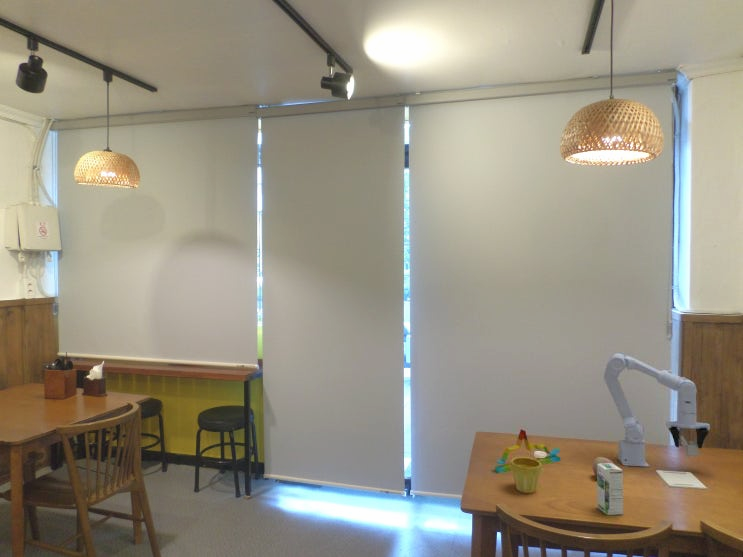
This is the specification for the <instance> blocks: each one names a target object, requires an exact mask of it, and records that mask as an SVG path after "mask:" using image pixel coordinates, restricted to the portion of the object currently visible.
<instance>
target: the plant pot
mask: <svg viewBox="0 0 743 557" xmlns="http://www.w3.org/2000/svg"><path fill="white" fill-rule="evenodd" d="M510 463H511V471H510V472H511V473H513V479H514V483H515V488H516V490H517V491H519V492H520V493H524V494H525V493H526V494H532V493H535V492H536V490H537V484H538V481H539V477H540V475H541V473H542V465H541V463H540V462H539V461H537V460H535V458H531V457H528V456H527V457H526V456H518V457H514V458H512V459H511V460H510Z"/></svg>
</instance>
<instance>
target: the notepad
mask: <svg viewBox="0 0 743 557" xmlns="http://www.w3.org/2000/svg"><path fill="white" fill-rule="evenodd" d="M655 473H657V475H658V476H659V477H660V478H661V479H662V481H663V482H664V483H665V484H666V485H667V486H668V487H669V488H681V489H683V488H684V489H685V488H686V489H695V490H697V489H698V490H708V487H707V486H705V484H703V483H702V482H701V481H700V480H699V479H698V478H697V477H696V475H695V474H693V472H690V471H675V470H660V469H659V470H658V469H657V470H655Z"/></svg>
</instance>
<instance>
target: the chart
mask: <svg viewBox="0 0 743 557" xmlns="http://www.w3.org/2000/svg"><path fill="white" fill-rule="evenodd" d="M522 443H524V446H525V449H526V450H527V451H532V450H533V449H534V448H535V449H536V450H539V451H542V450H544V451H545V453H546V454H548V455H547V456H546V457H545V456H544V457H545V458H540V457H536V458H534V459H535V460H537V461H539V462H540V463H541V466H543V465H546V464H550V463H556V462H560V461H561V456H559V455H558V453H560V451H561V449H559V448H557V447H555V448H554V449H553V450H552V451H550V450H549V449H548V447H547V445H546V444H543V443H542V442H541V443H540V444H538V445H537V444H536V443H535V442H532V441H530V443H529V439H528V435H527V433H526V430H524V429H522V428H521V429H520V430H519V434H518V436H517V440H516V444H515V445H513V446H511V447H505V448H504V451H503V454H502V456H501V459H500V460H497V459H496V460H495V462H496V463H497V464H499V465H495V466H494V471H495V472H497V473H498V474H503V473H507V472H512V471H511V462H510V463H506V462H507V459H508V457H509V454H510V452H511V451H514V452H515V451H517V450H518V449H520V448H521V446H522Z"/></svg>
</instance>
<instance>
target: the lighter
mask: <svg viewBox="0 0 743 557" xmlns="http://www.w3.org/2000/svg"><path fill="white" fill-rule="evenodd" d="M679 443H681V446H683V447H685V455H686V456H688V457H697V456H700V453H699V452H700V451H699V450H700V448H698V444H697V442H696V441H694V440H688V442H687V440H686V439H685V437H684V435H683V434H681V433H679Z"/></svg>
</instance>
